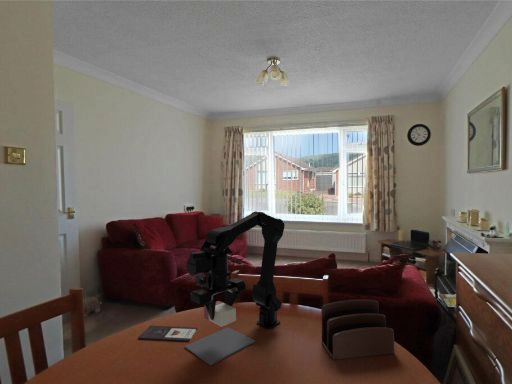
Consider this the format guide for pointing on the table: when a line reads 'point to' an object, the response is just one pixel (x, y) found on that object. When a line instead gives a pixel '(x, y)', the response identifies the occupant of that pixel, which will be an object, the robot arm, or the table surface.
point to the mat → (219, 345)
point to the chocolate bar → (168, 333)
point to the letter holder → (355, 329)
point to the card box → (222, 314)
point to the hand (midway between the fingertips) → (220, 316)
